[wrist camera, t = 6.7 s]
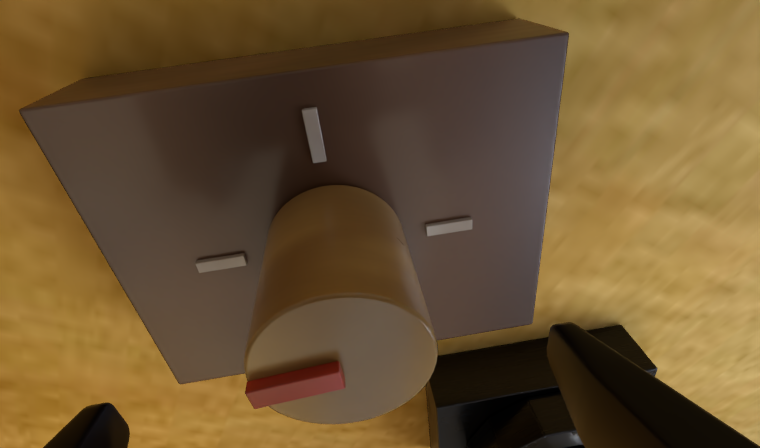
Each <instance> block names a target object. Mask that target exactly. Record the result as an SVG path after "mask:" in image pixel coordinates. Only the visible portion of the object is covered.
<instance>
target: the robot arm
mask: <svg viewBox="0 0 760 448" xmlns="http://www.w3.org/2000/svg"><path fill="white" fill-rule="evenodd" d="M547 359H548V362H549V365H550V367H551V370H552V372H553V375H554V377H555V380H556V382H557V385H558V387H559V389H560V392H561V394H562V397H563V399H564V402H565V404H566V407H567V409H568V412H569V414H570V417H571V419H572V421H573V424H574V426H575V428H576V431H577V433H578V435H579V437H580V439H581V441H582V443H583V445H584V447H585V448H760V446H758V445H757V444H755V443H754V442H752V441H751V440H749V439H748V438H746V437H745V436H743V435H742V434H740V433H739V432H737V431H736V430H734V429H733V428H731V427H730V426H728V425H727V424H725V423H724V422H722V421H721V420H719V419H718V418H716V417H715V416H713V415H712V414H710V413H709V412H707V411H705V410H704V409H702V408H701V407H699V406H698V405H696V404H695V403H693V402H692V401H690V400H689V399H687V398H686V397H684V396H683V395H681V394H680V393H678V392H677V391H675V390H674V389H672V388H671V387H669V386H668V385H666V384H665V383H663V382H662V381H660V380H659V379H657V378H656V377H654V376H653V375H651V374H650V373H648V372H647V371H645V370H644V369H642V368H641V367H639V366H638V365H636V364H635V363H633V362H631V361H630V360H628V359H627V358H625V357H624V356H622V355H621V354H619V353H618V352H616V351H615V350H613V349H612V348H610V347H609V346H607V345H606V344H604V343H603V342H601V341H600V340H598V339H597V338H595V337H594V336H592V335H591V334H589V333H588V332H586V331H585V330H583V329H582V328H580V327H579V326H577V325H576V324H574V323H571V322H566V323H560V324H555V325H552V327H551V328H550V332H549V338H548V345H547ZM129 435H130V432H129V427H128V424H127V423H126V422H125V420H124V419H123V418H122V416H121V415H120V414H119V412H118V411H117V410H116V408H115V407H114V406H113V405H112V404H110V403H101V404H95V405H90V406H87V407H85V408H84V409H83V410H82V411H80V412H79V413H78V414H77V415H76V416H75V417H74V418H73V419H72V420H71V421H70V422H69V423H68V424H67V425H66V426H65V427H64V428H63V429H62V430H61V431H60V432H59V433H58V434H57V435H56V436H55V437H54V438H53V439H52V440H50V441H49V442H48V443H47V444H46V445H45V446H44V447H43V448H127V447H128V442H129Z"/></svg>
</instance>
